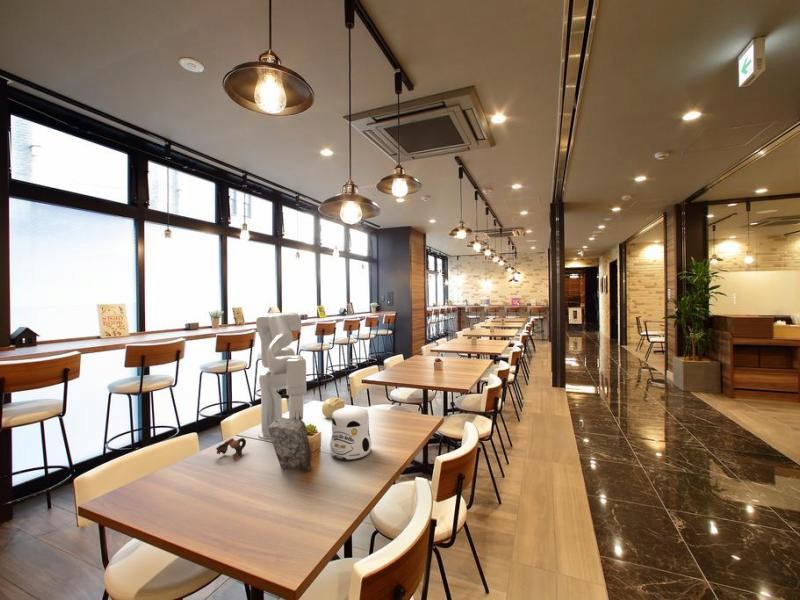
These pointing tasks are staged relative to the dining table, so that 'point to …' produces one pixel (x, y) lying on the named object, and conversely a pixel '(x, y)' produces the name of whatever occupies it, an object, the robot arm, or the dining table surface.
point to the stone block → (291, 444)
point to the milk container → (350, 434)
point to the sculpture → (332, 406)
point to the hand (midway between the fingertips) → (297, 436)
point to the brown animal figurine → (233, 444)
